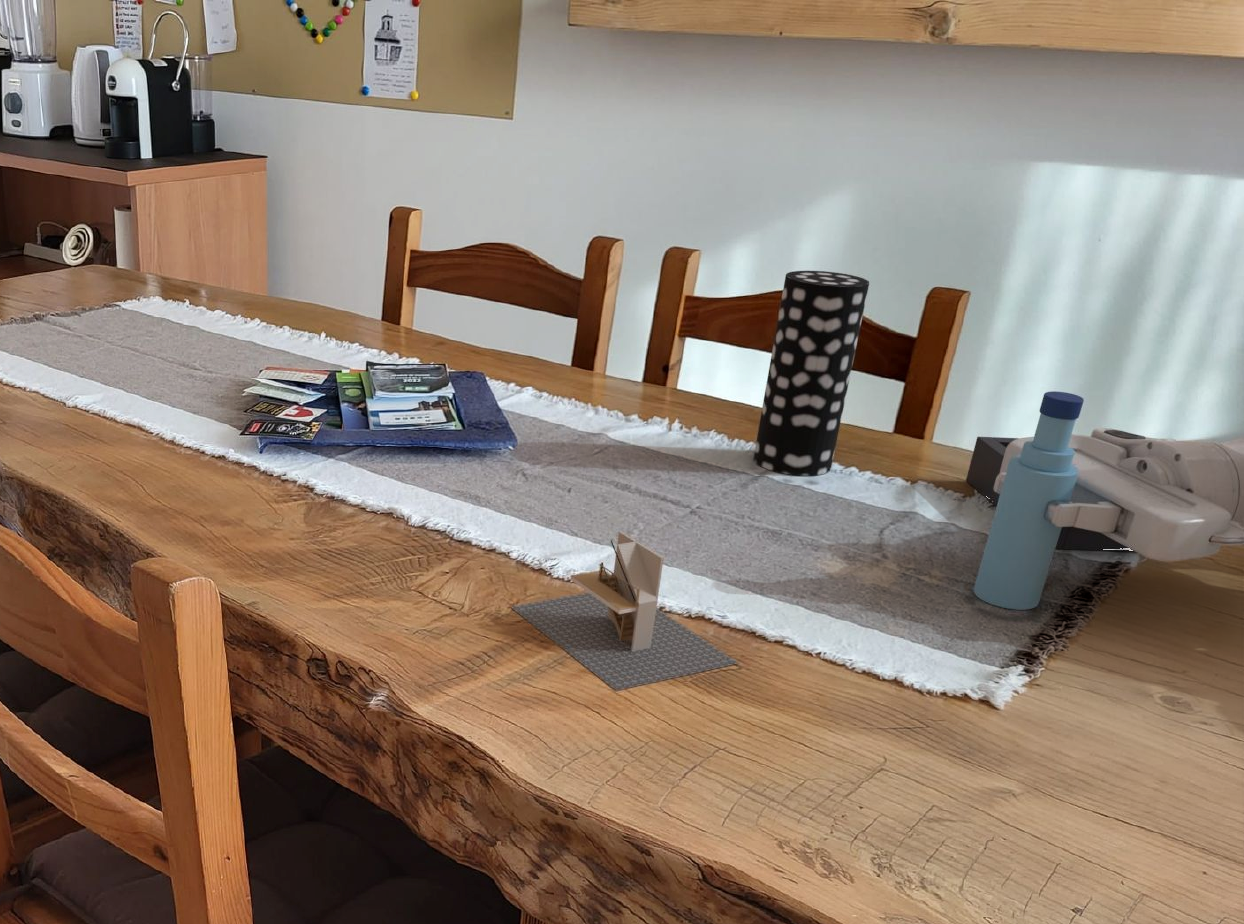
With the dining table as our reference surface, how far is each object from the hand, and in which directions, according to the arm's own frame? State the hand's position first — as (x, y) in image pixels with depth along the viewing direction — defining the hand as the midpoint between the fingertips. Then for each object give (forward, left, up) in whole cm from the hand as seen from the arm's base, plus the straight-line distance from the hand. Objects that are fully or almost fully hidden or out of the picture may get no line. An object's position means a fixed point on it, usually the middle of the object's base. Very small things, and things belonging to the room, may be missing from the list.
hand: (1024, 499), depth 104 cm
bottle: (-1, 0, -9) cm, 9 cm away
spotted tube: (+8, -34, -9) cm, 36 cm away
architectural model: (+34, +10, -9) cm, 37 cm away
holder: (-15, -21, -9) cm, 27 cm away
